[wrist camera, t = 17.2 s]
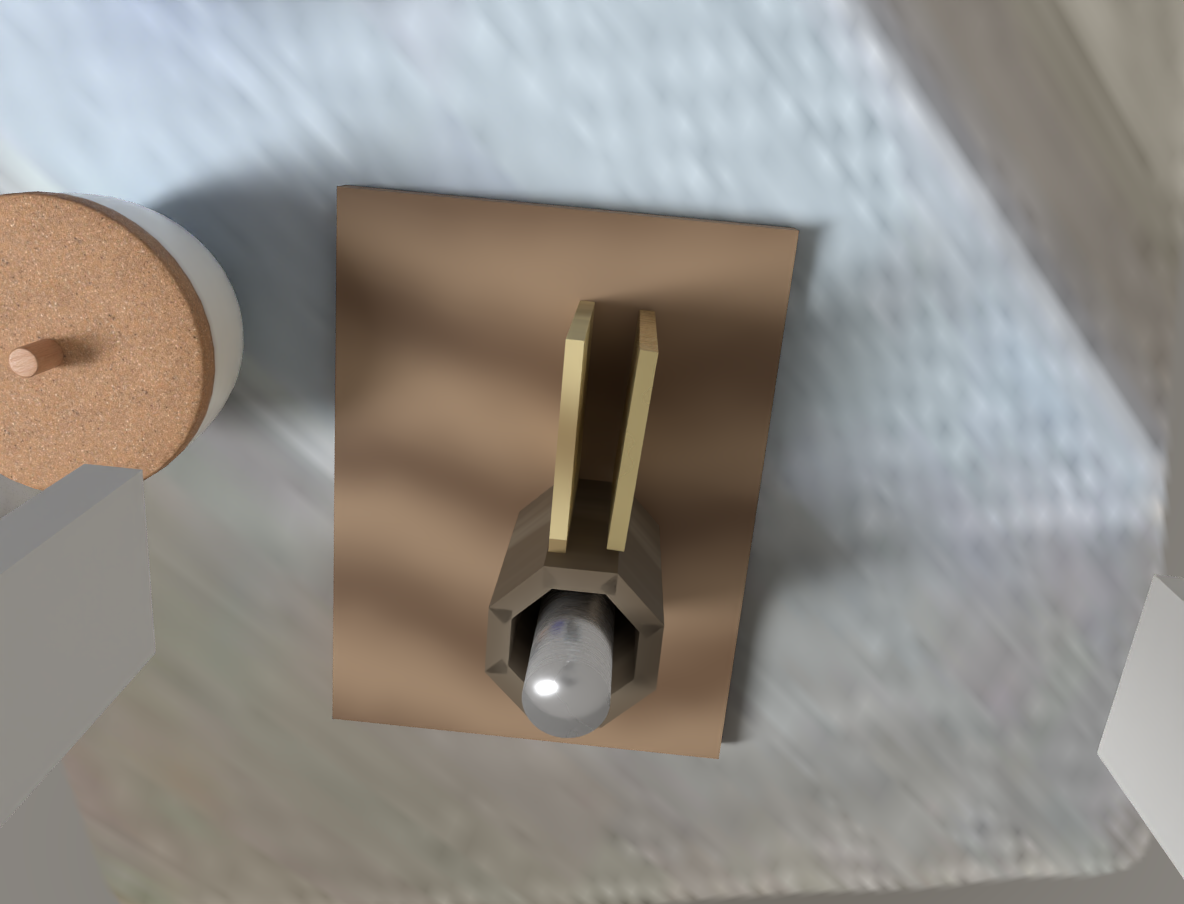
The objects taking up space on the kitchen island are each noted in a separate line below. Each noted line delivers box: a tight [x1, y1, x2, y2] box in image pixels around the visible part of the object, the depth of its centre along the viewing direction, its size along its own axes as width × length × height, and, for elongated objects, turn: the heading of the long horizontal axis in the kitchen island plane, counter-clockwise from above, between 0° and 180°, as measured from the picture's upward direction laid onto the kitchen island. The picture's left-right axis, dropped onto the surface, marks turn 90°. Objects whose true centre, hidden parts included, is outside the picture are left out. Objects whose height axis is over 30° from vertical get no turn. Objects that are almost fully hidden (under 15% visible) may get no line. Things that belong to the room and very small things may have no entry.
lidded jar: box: [0, 191, 244, 490], centre depth 37 cm, size 11×11×9 cm
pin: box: [522, 589, 615, 738], centre depth 37 cm, size 3×3×12 cm
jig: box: [333, 185, 799, 759], centre depth 38 cm, size 24×18×10 cm
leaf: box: [607, 309, 658, 552], centre depth 36 cm, size 7×1×8 cm, turn 172°
